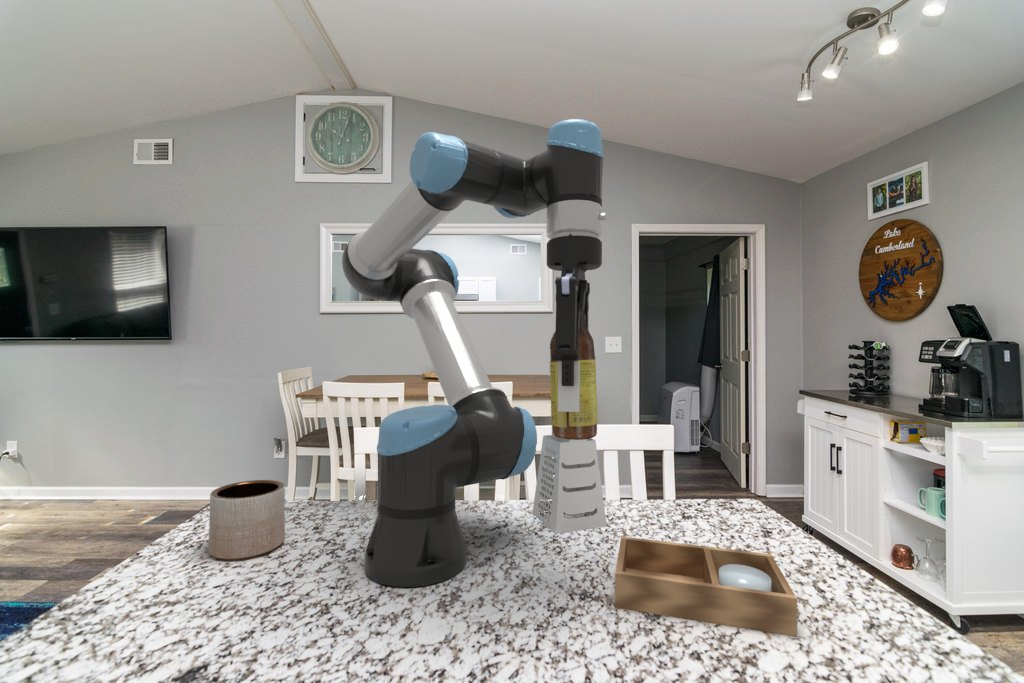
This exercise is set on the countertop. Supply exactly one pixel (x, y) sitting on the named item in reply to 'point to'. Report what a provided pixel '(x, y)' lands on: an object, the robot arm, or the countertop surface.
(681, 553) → the caddy
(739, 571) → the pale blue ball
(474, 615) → the countertop surface
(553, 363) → the sauce bottle
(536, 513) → the grater
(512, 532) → the countertop surface
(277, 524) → the planter
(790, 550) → the countertop surface
